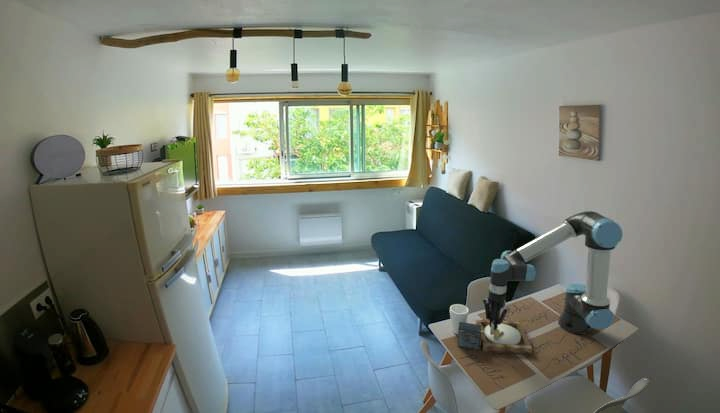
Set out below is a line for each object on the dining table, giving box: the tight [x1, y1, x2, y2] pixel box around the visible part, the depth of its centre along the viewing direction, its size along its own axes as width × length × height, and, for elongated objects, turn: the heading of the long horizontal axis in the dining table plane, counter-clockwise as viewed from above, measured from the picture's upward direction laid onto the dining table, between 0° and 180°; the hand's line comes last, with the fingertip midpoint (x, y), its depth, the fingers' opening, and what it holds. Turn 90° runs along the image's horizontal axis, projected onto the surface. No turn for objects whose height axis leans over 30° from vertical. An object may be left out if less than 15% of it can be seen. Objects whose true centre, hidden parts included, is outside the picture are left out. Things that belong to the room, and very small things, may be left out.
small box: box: [457, 322, 481, 351], centre depth 182 cm, size 11×6×10 cm, turn 71°
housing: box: [475, 319, 533, 356], centre depth 187 cm, size 22×22×4 cm
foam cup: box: [449, 303, 470, 335], centre depth 193 cm, size 10×9×13 cm
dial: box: [484, 324, 521, 345], centre depth 186 cm, size 17×17×6 cm
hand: (492, 333), depth 183 cm, fingers closed
